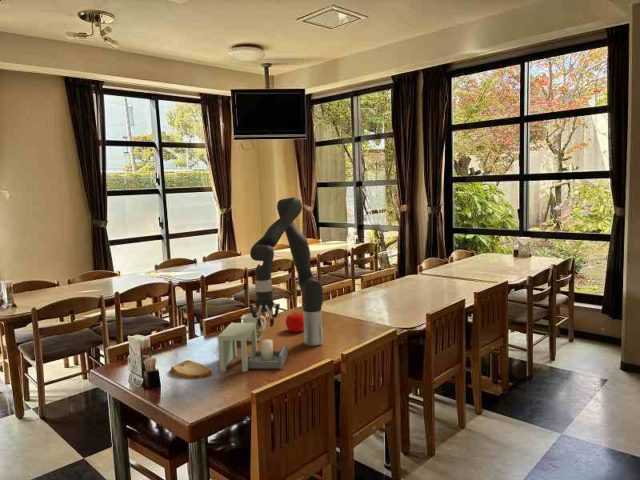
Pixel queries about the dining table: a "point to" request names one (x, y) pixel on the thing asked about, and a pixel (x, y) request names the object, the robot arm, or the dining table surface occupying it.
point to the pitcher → (259, 330)
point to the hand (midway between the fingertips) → (265, 326)
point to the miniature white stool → (229, 343)
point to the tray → (277, 362)
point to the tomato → (295, 322)
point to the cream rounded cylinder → (267, 350)
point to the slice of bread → (191, 370)
